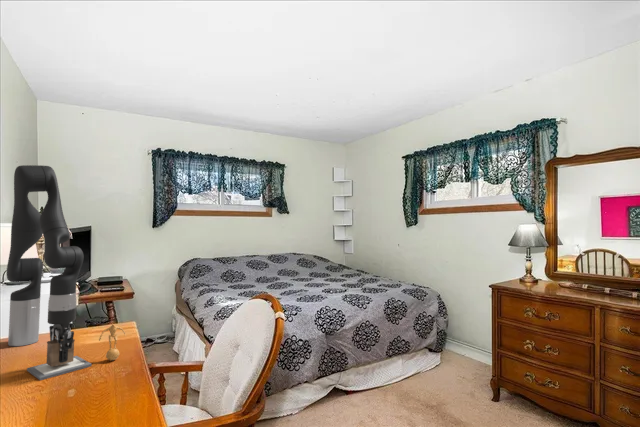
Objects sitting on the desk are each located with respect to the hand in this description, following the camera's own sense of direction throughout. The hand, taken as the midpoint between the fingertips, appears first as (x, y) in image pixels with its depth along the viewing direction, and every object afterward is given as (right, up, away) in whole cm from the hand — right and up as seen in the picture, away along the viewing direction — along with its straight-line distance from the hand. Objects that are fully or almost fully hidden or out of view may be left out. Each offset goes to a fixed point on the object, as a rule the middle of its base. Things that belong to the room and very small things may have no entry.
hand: (60, 359), depth 116 cm
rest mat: (0, -3, 0) cm, 3 cm away
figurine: (+12, -3, +8) cm, 15 cm away
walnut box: (0, -1, 0) cm, 1 cm away
